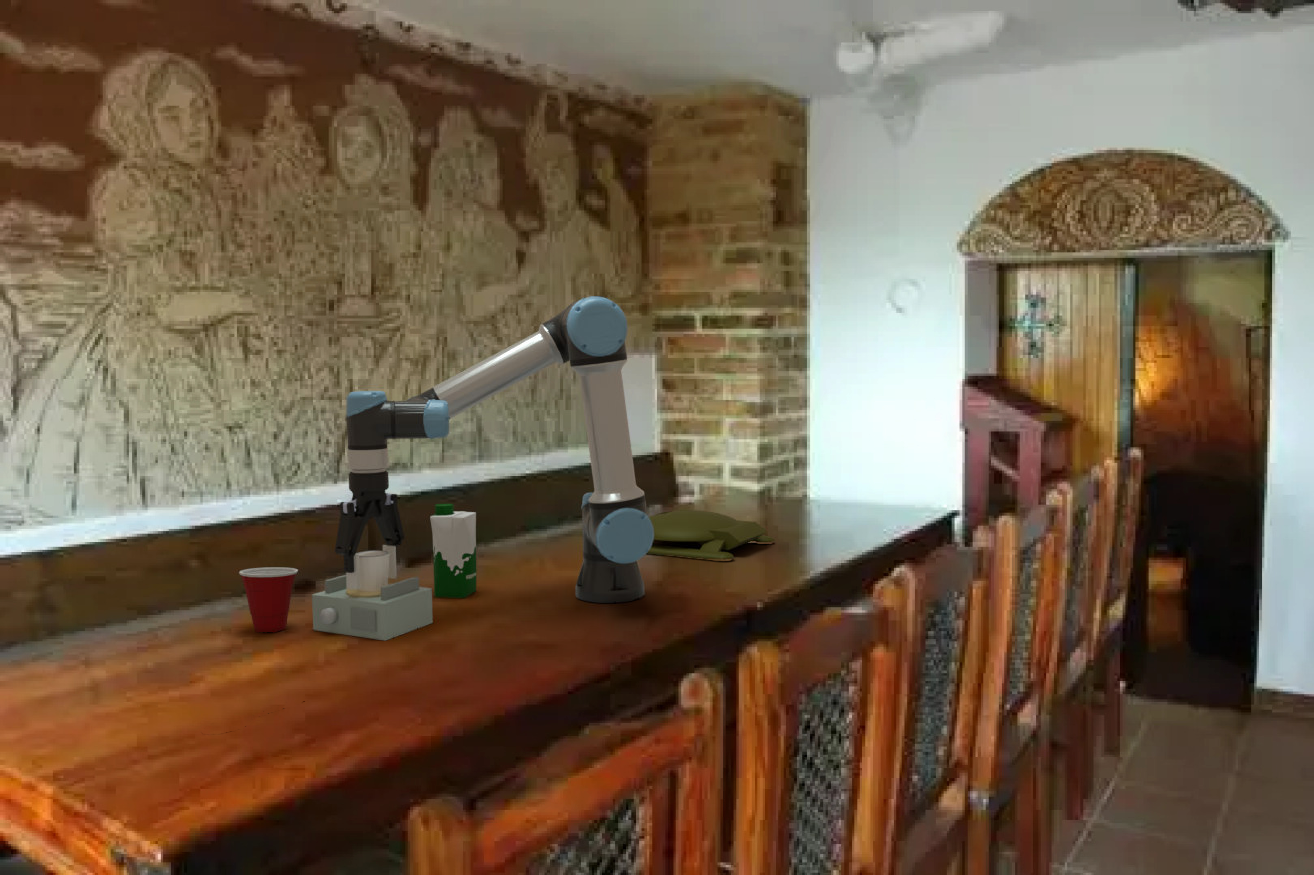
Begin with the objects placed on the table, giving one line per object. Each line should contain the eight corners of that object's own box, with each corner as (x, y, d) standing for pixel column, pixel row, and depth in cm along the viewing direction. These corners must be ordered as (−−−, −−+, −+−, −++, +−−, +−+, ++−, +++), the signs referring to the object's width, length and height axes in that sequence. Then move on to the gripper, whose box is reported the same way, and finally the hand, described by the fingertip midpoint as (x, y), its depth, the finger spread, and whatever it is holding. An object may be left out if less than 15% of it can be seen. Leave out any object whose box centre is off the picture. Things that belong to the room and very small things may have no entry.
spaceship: (777, 544, 293) (777, 509, 292) (728, 565, 267) (728, 526, 266) (667, 534, 311) (666, 501, 310) (610, 552, 284) (610, 516, 283)
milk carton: (444, 588, 242) (442, 501, 240) (482, 590, 240) (480, 502, 238) (428, 597, 233) (426, 507, 231) (467, 599, 231) (465, 508, 229)
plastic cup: (312, 624, 212) (309, 564, 211) (276, 638, 202) (273, 576, 200) (267, 620, 215) (264, 561, 214) (229, 634, 205) (226, 572, 204)
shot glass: (351, 592, 205) (350, 557, 205) (358, 585, 212) (357, 550, 212) (387, 591, 206) (386, 556, 205) (393, 583, 213) (392, 549, 212)
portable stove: (432, 622, 212) (431, 575, 211) (379, 642, 198) (377, 592, 197) (363, 613, 220) (361, 568, 219) (307, 631, 206) (305, 583, 205)
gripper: (391, 463, 219) (395, 570, 221) (311, 476, 199) (315, 593, 201) (420, 465, 215) (424, 573, 217) (342, 477, 195) (346, 597, 197)
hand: (372, 583), depth 209 cm, fingers open, 10 cm apart
